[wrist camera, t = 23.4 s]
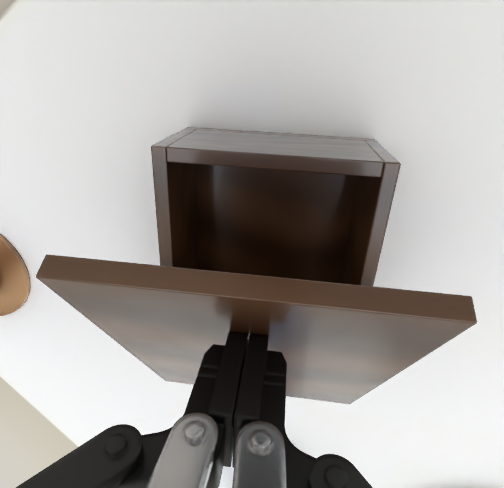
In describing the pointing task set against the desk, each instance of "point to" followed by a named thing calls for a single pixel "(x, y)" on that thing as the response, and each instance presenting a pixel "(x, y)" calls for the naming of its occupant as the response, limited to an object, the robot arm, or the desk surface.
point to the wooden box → (273, 203)
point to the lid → (261, 321)
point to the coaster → (12, 279)
